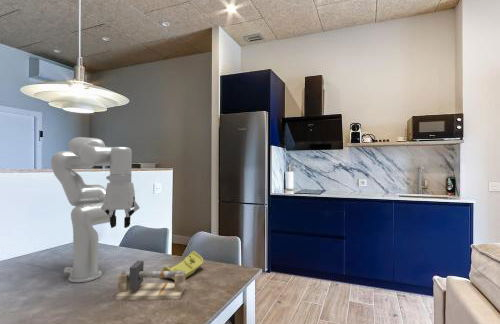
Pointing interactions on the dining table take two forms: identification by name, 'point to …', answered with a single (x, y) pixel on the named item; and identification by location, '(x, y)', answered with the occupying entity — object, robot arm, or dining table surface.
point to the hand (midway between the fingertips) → (120, 226)
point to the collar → (135, 275)
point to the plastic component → (187, 264)
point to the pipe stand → (152, 286)
